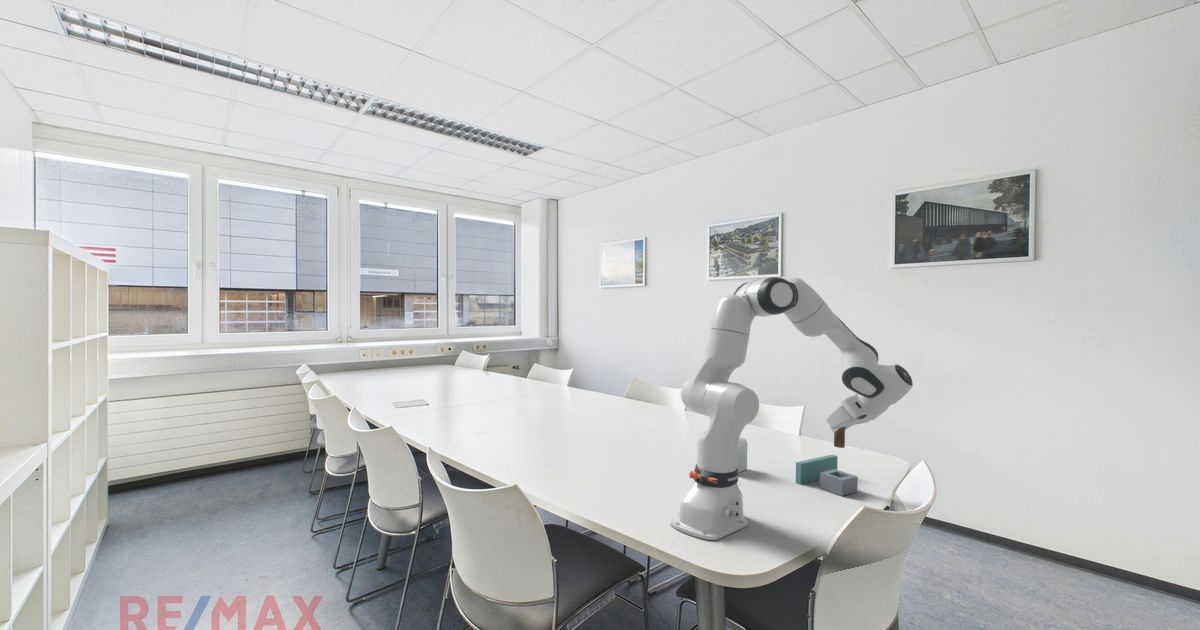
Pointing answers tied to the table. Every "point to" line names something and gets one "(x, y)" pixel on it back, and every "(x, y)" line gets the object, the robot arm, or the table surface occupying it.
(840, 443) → the walnut dowel
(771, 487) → the table surface
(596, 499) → the table surface
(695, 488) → the robot arm
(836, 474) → the socket block
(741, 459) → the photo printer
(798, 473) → the backstop board
